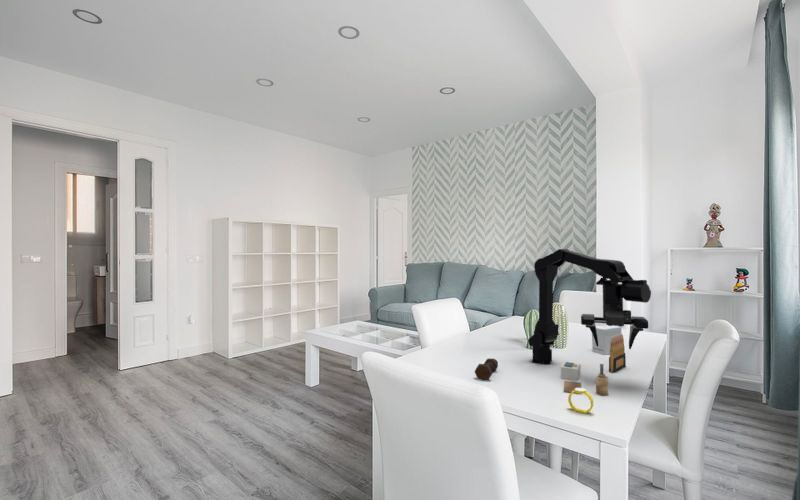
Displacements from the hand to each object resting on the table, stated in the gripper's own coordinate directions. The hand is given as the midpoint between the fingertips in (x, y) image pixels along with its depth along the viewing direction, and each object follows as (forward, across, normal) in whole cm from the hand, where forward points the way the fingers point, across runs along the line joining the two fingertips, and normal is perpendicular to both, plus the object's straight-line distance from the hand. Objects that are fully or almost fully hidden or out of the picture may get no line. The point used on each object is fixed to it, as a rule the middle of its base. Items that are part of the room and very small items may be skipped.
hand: (613, 347), depth 124 cm
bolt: (+12, -39, -7) cm, 41 cm away
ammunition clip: (+11, +2, +16) cm, 19 cm away
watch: (+12, -10, -28) cm, 32 cm away
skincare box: (+11, +1, +41) cm, 42 cm away
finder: (+11, -13, +1) cm, 17 cm away
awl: (+11, -4, -12) cm, 17 cm away
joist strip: (+11, -12, -3) cm, 17 cm away
